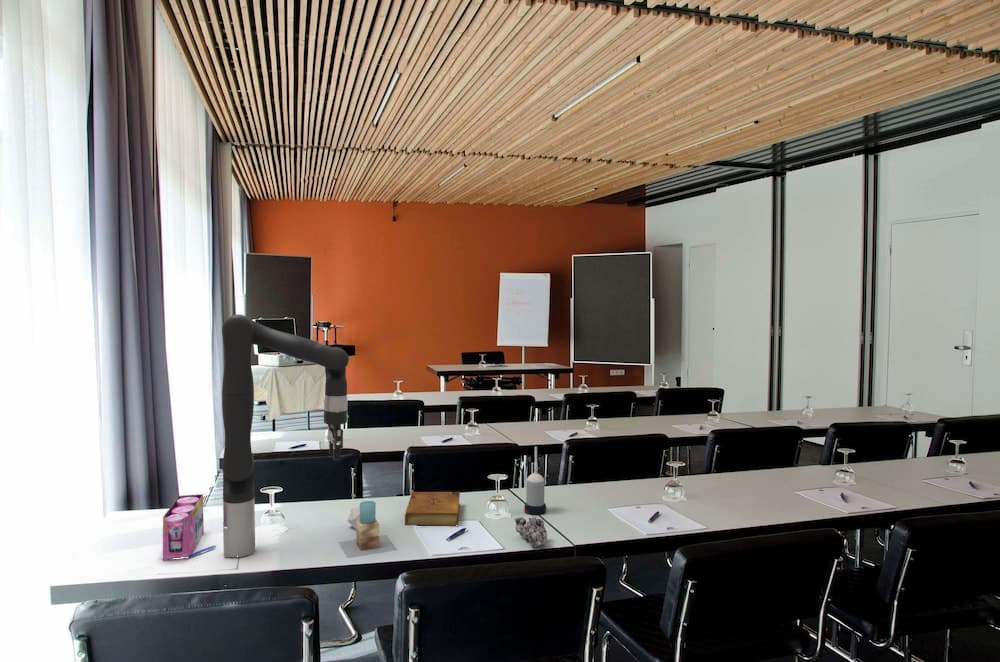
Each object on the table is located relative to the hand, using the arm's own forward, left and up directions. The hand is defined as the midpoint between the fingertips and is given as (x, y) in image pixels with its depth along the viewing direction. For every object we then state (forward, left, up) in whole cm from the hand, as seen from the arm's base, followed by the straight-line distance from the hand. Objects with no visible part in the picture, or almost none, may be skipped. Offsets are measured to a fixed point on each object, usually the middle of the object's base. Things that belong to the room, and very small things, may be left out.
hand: (334, 457), depth 218 cm
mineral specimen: (+59, -28, -28) cm, 72 cm away
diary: (+38, +11, -29) cm, 49 cm away
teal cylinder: (+9, -10, -20) cm, 24 cm away
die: (+11, +8, -28) cm, 31 cm away
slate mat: (+8, -10, -28) cm, 31 cm away
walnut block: (+8, -10, -28) cm, 30 cm away
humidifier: (+75, -1, -28) cm, 80 cm away
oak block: (+8, -10, -24) cm, 27 cm away
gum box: (-45, +15, -28) cm, 56 cm away
